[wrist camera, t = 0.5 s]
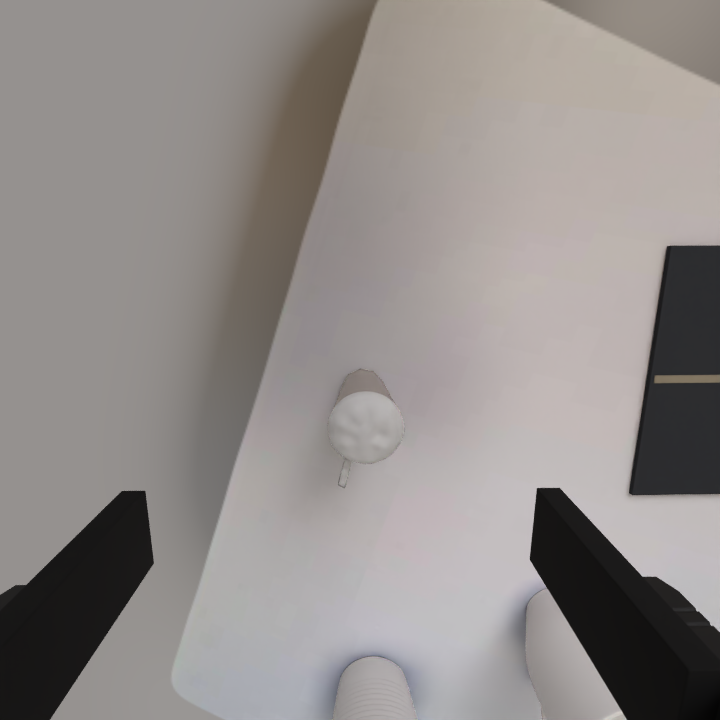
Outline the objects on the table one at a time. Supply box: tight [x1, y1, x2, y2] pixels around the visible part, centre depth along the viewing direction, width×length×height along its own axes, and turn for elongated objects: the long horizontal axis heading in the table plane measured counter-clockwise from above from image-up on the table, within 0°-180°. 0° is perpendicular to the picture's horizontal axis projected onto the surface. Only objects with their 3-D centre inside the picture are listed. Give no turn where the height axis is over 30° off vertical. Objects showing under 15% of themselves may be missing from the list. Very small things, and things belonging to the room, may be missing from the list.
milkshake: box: [328, 369, 405, 488], centre depth 28 cm, size 4×5×10 cm
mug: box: [526, 589, 627, 720], centre depth 33 cm, size 12×9×12 cm
